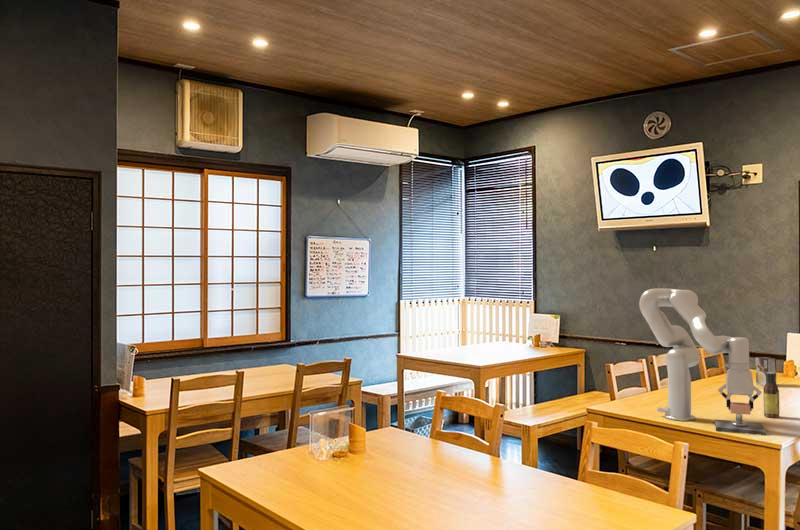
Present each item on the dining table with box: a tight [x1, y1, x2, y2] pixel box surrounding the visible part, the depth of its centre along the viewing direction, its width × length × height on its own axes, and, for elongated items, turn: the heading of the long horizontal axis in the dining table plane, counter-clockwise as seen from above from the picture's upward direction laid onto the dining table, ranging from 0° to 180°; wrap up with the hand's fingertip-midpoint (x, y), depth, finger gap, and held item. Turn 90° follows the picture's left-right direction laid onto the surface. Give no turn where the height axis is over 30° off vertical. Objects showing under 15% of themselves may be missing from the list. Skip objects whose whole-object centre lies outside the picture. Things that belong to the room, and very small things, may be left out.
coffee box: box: [755, 356, 777, 386], centre depth 380 cm, size 9×6×16 cm
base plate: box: [714, 419, 767, 436], centre depth 273 cm, size 18×16×2 cm
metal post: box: [731, 414, 747, 427], centre depth 273 cm, size 6×6×8 cm
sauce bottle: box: [762, 372, 780, 419], centre depth 296 cm, size 7×6×20 cm
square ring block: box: [729, 401, 751, 415], centre depth 273 cm, size 7×7×4 cm
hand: (739, 409), depth 273 cm, fingers closed on square ring block, 7 cm apart
